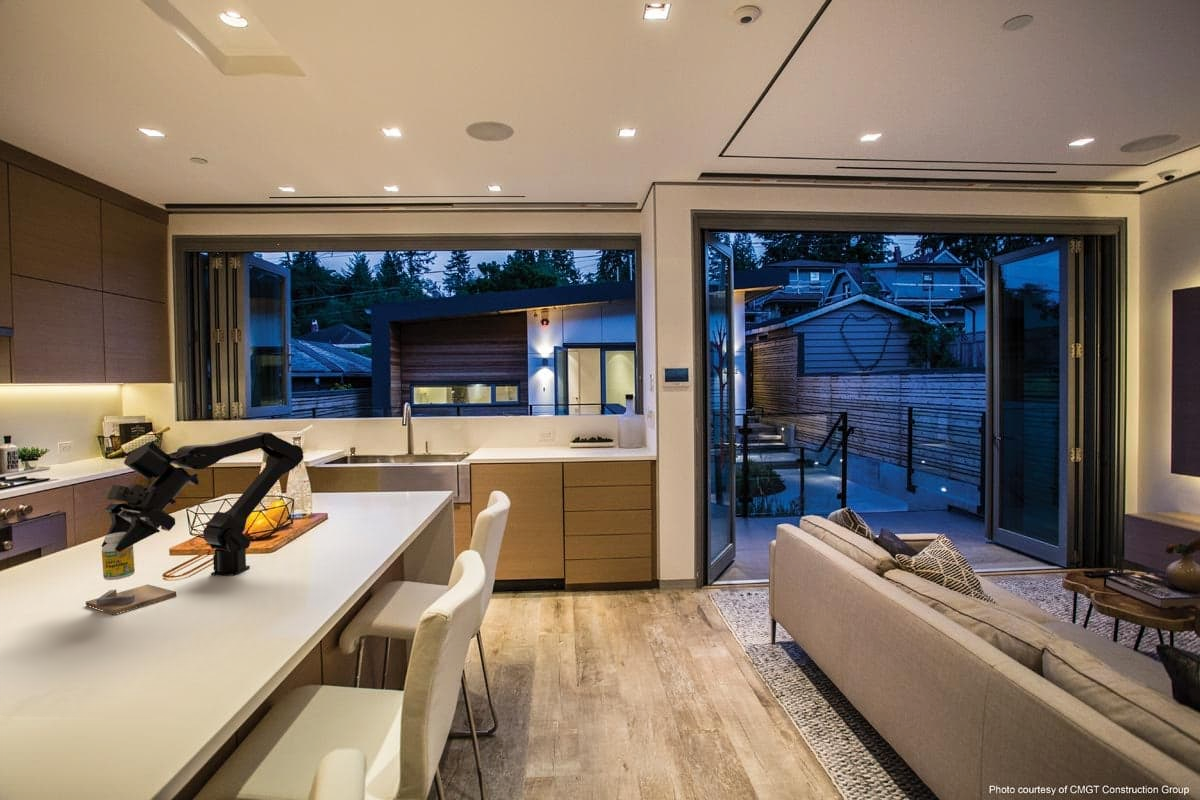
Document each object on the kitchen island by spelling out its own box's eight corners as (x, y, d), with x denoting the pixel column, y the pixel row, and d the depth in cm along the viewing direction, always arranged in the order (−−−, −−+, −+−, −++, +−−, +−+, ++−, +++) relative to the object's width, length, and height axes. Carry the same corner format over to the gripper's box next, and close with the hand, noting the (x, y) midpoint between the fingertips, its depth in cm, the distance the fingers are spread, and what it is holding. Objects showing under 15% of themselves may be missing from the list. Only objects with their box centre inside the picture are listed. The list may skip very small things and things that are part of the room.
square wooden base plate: (148, 588, 136) (147, 578, 136) (176, 595, 131) (176, 585, 131) (84, 606, 125) (83, 595, 125) (112, 615, 120) (111, 604, 120)
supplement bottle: (136, 570, 130) (134, 529, 129) (133, 577, 125) (130, 534, 125) (105, 575, 127) (103, 533, 126) (101, 582, 122) (98, 539, 122)
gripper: (112, 468, 133) (54, 526, 123) (156, 472, 124) (98, 535, 115) (152, 494, 140) (101, 551, 131) (197, 500, 132) (145, 561, 123)
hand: (110, 549), depth 124 cm, fingers closed on supplement bottle, 5 cm apart
